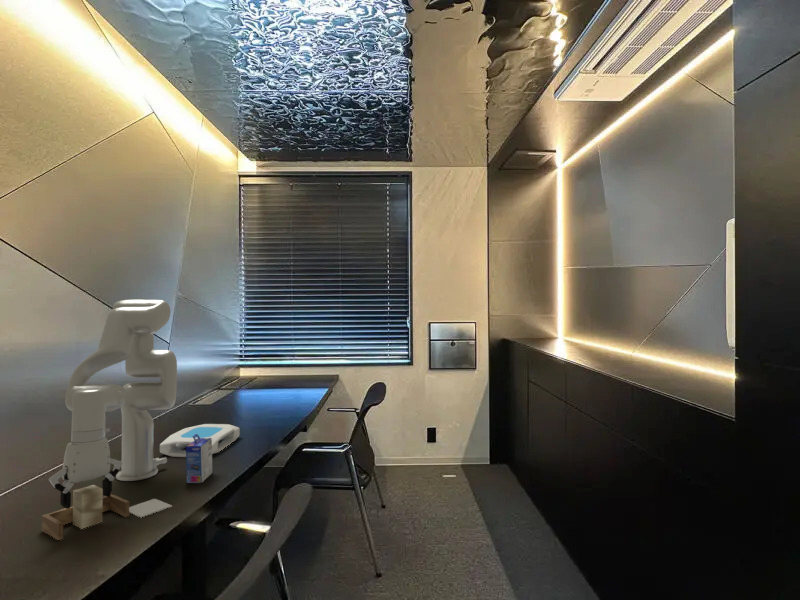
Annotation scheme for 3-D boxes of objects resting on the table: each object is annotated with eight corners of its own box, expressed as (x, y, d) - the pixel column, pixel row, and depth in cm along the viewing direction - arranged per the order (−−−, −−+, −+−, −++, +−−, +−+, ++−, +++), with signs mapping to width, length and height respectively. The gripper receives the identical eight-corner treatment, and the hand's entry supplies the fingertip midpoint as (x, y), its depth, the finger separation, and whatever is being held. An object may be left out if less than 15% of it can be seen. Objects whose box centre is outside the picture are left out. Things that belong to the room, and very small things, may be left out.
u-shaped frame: (111, 508, 137) (111, 493, 137) (129, 516, 132) (129, 501, 132) (41, 531, 123) (42, 515, 123) (58, 541, 117) (58, 524, 118)
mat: (154, 499, 143) (154, 498, 143) (172, 506, 138) (172, 505, 138) (123, 510, 135) (123, 509, 135) (140, 518, 130) (140, 516, 130)
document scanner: (158, 457, 185) (158, 440, 185) (193, 437, 213) (193, 423, 213) (212, 458, 184) (212, 441, 184) (240, 438, 211) (240, 424, 212)
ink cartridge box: (196, 473, 166) (197, 431, 166) (212, 473, 166) (213, 431, 167) (184, 483, 156) (185, 438, 157) (202, 483, 156) (202, 438, 157)
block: (93, 518, 131) (93, 484, 131) (102, 522, 128) (102, 488, 128) (72, 524, 126) (73, 490, 126) (81, 529, 124) (82, 494, 124)
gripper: (115, 427, 137) (113, 488, 136) (44, 440, 122) (42, 509, 121) (129, 431, 132) (127, 494, 132) (57, 445, 118) (55, 515, 117)
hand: (86, 501), depth 127 cm, fingers open, 9 cm apart
